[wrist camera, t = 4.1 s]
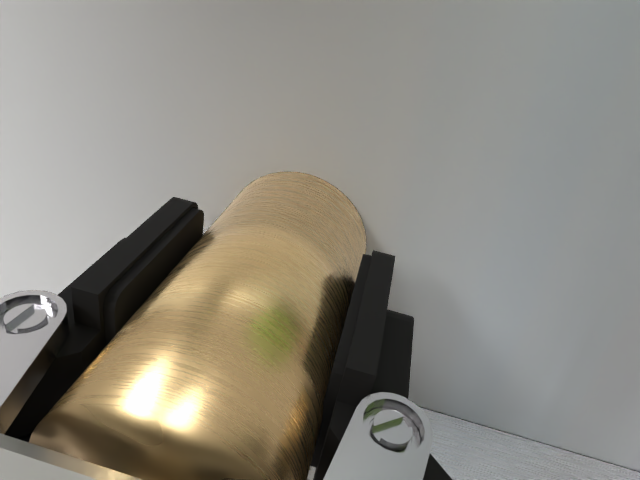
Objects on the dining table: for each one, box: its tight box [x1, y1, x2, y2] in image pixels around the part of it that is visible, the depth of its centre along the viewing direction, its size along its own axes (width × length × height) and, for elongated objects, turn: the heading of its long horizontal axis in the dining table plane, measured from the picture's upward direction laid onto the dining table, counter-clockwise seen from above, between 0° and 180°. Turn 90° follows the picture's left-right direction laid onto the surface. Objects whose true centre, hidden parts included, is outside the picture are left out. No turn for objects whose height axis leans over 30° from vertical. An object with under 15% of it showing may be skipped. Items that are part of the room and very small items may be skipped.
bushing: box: [29, 172, 366, 480], centre depth 10 cm, size 4×4×8 cm
